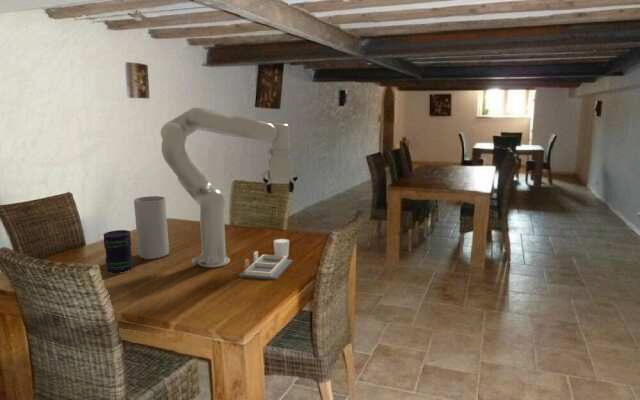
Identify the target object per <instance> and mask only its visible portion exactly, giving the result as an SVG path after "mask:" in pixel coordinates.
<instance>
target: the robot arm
mask: <svg viewBox="0 0 640 400" xmlns="http://www.w3.org/2000/svg"><path fill="white" fill-rule="evenodd" d="M197 130H200V131H204V132H209V133H215V134H219V135H223V136H224V135H225V136H229V137H234V138H235V137H237V138H244V139H248V140H249V139H250V140H255V141H259V142H265V143H270V142H271V143H270V144H271V145H270V146H271V147H270V150H268V151H267V154H268V155H270V156H269V160H268V165H267V169H266V170H265V171H263V172H262V173H260V178H261V179H262V181H263V182H264V183H265V184H266V192H267V194H269V195H270V194H272V184H271V183H272V182H273V181H285V180H286V181H287V180H288V181H289V182H288V192H289V193H293V191H294V190H295V189H294V184H295V182H296V181H297V180H298V178H299V177H300V174H301V173H300V172H299V171H296V170H295V169H294V168H293V160H292V156H291V155H290V126H289V124H288V123H281V122H279V123H270V122H264V121H259V120H255V119H250V118H247V117H243V116H239V115H236V114H232V113H231V114H230V113H227V112H224V111H223V112H221V111H217V110H213V109H209V108H205V107H192V108H190V109H188V110H187V111H185V112H183V113H182V114H180V115H178V116H176V117H175V118H173V119H172V120H170V121H168V122H166V123H165V124H163V126H162V128H161V129H160V136H161V139H162V142H161V154H162V157H163V160H164V161H165V162H166V164H167V166H169V168H170V169H171V170H172V171H173V173H174V174H175V175H176V176H177V180H178V182H179V184H180V185H181V186H182V187H183V188H184V190H185V191H186V192H187V194H189V195H190V196H191V198H192V200H194V201H195V202H196V203H197V204H198V205H199V207H200V210H199V212H200V213H199V223H200V225H199V227H200V238H201V239H200V241H201V253H199V255H198V256H197V257H193V258H191V263H192V264H195V263H198V265H199V266H201V267H204V268H219V267H223V266H226V265H228V264H230V261H231V258H230V257H228V256H227V253H226V252H227V250H226V231H225V230H226V229H225V207H226V206H225V204H226V201H225V197H224V194H223V192H222V191H221V190H220V189H218V188H217V187H215V186H213V185H212V184H211V182H210V181H209V180H208V179H207V177H206V174H205V172H204V170H202V169H201V167H199V165H197V163H196V162H195V161H194V159H192V157H191V156H190V154H189V153H188V152H187V149H186V147H185V145H186V141H187V140H188V136H190V135H191V134H194V133H195V132H196V131H197ZM266 176H267V178H266Z"/></svg>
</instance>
